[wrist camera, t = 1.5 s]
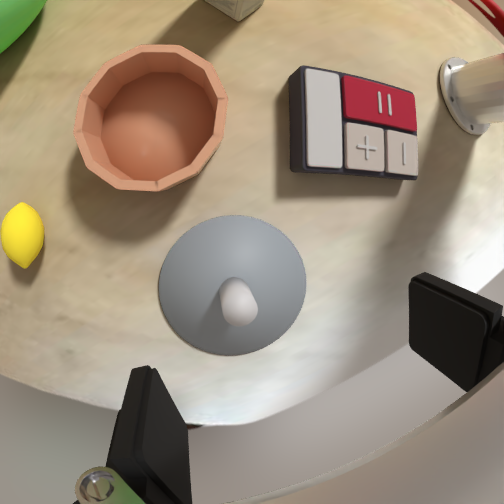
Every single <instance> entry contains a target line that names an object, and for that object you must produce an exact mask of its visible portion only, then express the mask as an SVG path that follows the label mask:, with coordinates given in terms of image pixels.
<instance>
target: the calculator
mask: <svg viewBox="0 0 504 504" xmlns="http://www.w3.org/2000/svg"><path fill="white" fill-rule="evenodd" d="M289 113H290V169H291V171H292V172H301V173H323V174H343V175H356V176H368V177H379V178H390V179H399V180H416V179H417V176H418V140H417V121H416V108H415V97H414V95H413V93H412V92H410V91H407V90H404V89H401V88H398V87H395V86H391V85H388V84H385V83H381V82H378V81H374V80H370V79H366V78H363V77H359V76H354V75H350V74H346V73H341V72H337V71H332V70H327V69H321V68H316V67H310V66H300V67H299V68H298V69H297V70H296V71H295V72H294V73H293V74H292V75H291V76H290V77H289Z"/></svg>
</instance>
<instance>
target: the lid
mask: <svg viewBox="0 0 504 504" xmlns="http://www.w3.org/2000/svg"><path fill="white" fill-rule="evenodd" d="M305 293H306V273H305V268H304V264H303V261H302V258H301V256H300V254H299V252H298V250H297V249H296V247H295V246H294V244H293V243H292V242H291V241H290V239H289V238H288V237H287V236H286V235H285V234H283V233H282V232H281V231H280V230H279V229H277V228H275V227H274V226H272V225H271V224H269V223H267V222H264V221H262V220H259V219H256V218H253V217H248V216H241V215H229V216H220V217H216V218H212V219H209V220H207V221H204V222H202V223H200V224H198V225H196V226H194V227H193V228H191V229H190V230H189V231H187V232H186V233H185V234H183V235H182V236H181V237H180V238H179V239H178V240H177V241H176V243H175V244H174V245H173V247H172V248H171V249H170V251H169V253H168V255H167V257H166V259H165V261H164V264H163V266H162V269H161V274H160V279H159V297H160V302H161V306H162V309H163V312H164V314H165V316H166V318H167V320H168V322H169V323H170V325H171V326H172V328H173V329H174V330H175V331H176V332H177V333H178V334H179V335H180V336H181V337H182V338H183V339H184V340H186V341H187V342H188V343H190V344H192V345H193V346H195V347H197V348H199V349H201V350H204V351H207V352H210V353H214V354H219V355H240V354H247V353H250V352H254V351H257V350H259V349H262V348H264V347H266V346H268V345H270V344H271V343H273V342H274V341H276V340H277V339H279V338H280V337H281V336H282V335H283V334H284V333H285V332H286V331H287V330H288V329H289V328H290V327H291V325H292V324H293V323H294V321H295V320H296V318H297V316H298V314H299V312H300V310H301V308H302V305H303V302H304V298H305Z"/></svg>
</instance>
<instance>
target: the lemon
mask: <svg viewBox="0 0 504 504" xmlns="http://www.w3.org/2000/svg"><path fill="white" fill-rule="evenodd" d="M0 232H1V241H2V246H3V250H4V252H5V253H6V255H7V256H8V257H9V258H10V259H11V260H12V261H14V262H15V263H16V264H18V265H19V266H21V267H22V268H28V266H29V265H30V264H31V263H32V261H33V260H34V259H35V258H36V256H37V255H38V254H39V252H40V250H41V248H42V246H43V240H44V226H43V223H42V221H41V218H40V216H39V214H38V212H37V211H35V210H34V209H33V208H32V207H31V206H29V205H27V204H25V203H23V202H21V203H19V204H18V205H16V206H15V207H13V208H12V209H11V210H10V211H9V212H8V213H7V214H6V216H5V218H4V220H3V222H2V227H1V231H0Z"/></svg>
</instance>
